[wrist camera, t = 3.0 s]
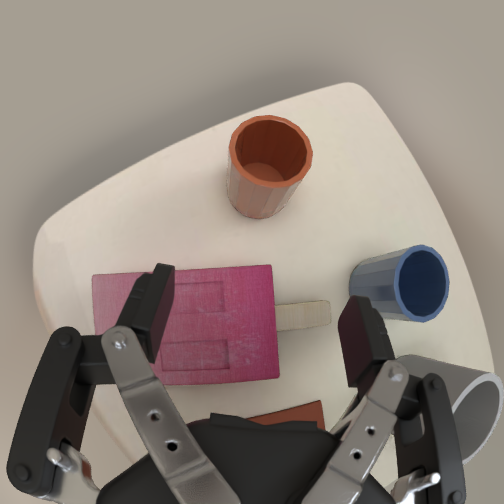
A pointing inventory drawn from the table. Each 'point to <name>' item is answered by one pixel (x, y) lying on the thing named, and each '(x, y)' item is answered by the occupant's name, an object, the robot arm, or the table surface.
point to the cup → (464, 400)
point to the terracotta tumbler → (266, 164)
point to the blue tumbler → (403, 283)
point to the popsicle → (214, 323)
